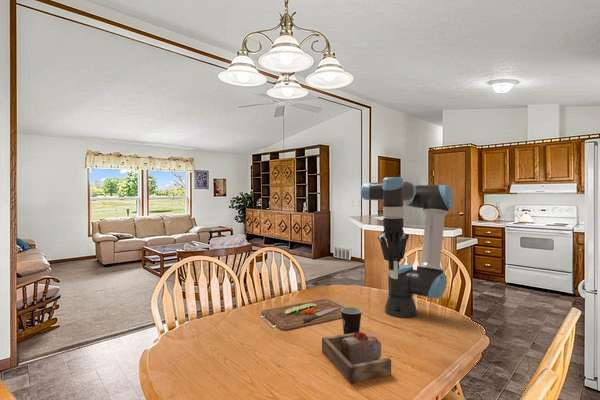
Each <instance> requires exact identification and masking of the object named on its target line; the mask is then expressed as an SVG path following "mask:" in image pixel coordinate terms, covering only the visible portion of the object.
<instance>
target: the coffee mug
mask: <svg viewBox="0 0 600 400" xmlns="http://www.w3.org/2000/svg"><path fill="white" fill-rule="evenodd" d="M362 311H363V310H362V308H359V307H354V306H347V307H345V308H342V309H341V314H342V319H341V321H342V329H343V335H344V334H350V333H357V332H359V333H360V328H361V320H362Z"/></svg>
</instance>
